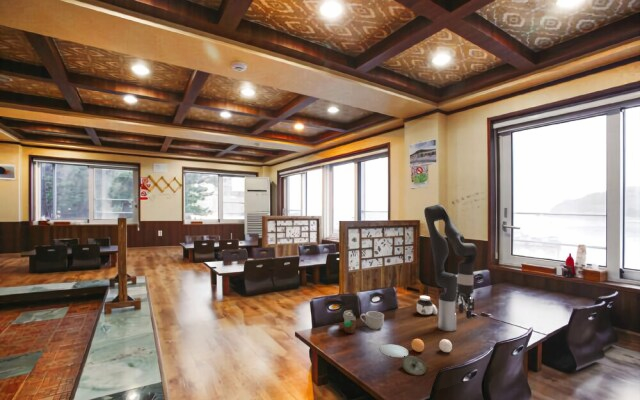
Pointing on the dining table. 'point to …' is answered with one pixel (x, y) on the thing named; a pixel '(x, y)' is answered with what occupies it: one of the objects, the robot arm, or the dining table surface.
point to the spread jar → (426, 306)
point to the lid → (413, 365)
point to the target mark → (394, 350)
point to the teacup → (373, 319)
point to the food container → (349, 321)
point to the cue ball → (445, 345)
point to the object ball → (417, 345)
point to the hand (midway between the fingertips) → (464, 315)
